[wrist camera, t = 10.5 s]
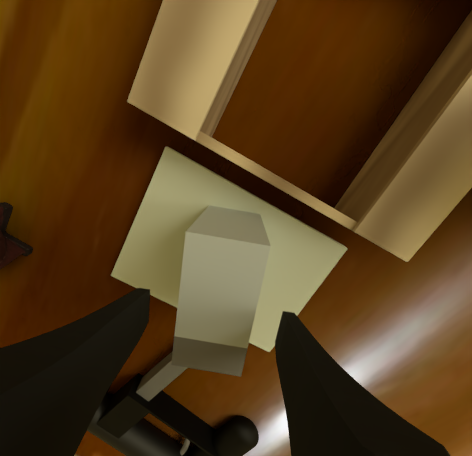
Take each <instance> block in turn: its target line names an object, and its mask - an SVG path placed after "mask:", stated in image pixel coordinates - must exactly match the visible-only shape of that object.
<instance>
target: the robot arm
mask: <svg viewBox="0 0 472 456" xmlns="http://www.w3.org/2000/svg"><path fill="white" fill-rule="evenodd" d="M149 302H150V289H144V288H137V289H135V290H134V291H132V292H130V293H128V294H126V295H125V296H123V297H121V298H119V299H118V300H116V301H114V302H112V303H110V304H109V305H107V306H105V307H103V308H101V309H99V310H97V311H95V312H93V313H91V314H89V315H87V316H85V317H83V318H81V319H79V320H77V321H75V322H72V323H70V324H68V325H65V326H63V327H61V328H58V329H56V330H53V331H50V332H48V333H45V334H42V335H39V336H36V337H34V338H31V339H28V340H25V341H22V342H19V343H16V344H13V345H10V346H6V347H3V348H0V456H74V455H75V453H76V451H77V448H78V446H79V444H80V442H81V440H82V438H83V436H84V434H85V433H86V431H87V429H88V427H89V425H90V423H91V421H92V419H93V417H94V415H95V413H96V411H97V409H98V407H99V405H100V404H101V402H102V400H103V398H104V396H105V394H106V392H107V391H108V389H109V387H110V385H111V384H112V382H113V381H114V379H115V377H116V376H117V374H118V373H119V371H120V370H121V368H122V367H123V365H124V363H125V362H126V360H127V359H128V357H129V356H130V354H131V353H132V351H133V349H134V348H135V346H136V345H137V343H138V341H139V340H140V338H141V336H142V334H143V332H144V330H145V328H146V326H147V323H148V321H149ZM275 349H276V362H277V367H278V372H279V378H280V383H281V388H282V393H283V398H284V403H285V408H286V414H287V420H288V429H289V438H290V447H291V456H450V454H449V453H448V451H447V450H446V449H445V447H444V446H443V445H441V444H440V443H438V442H437V441H435V440H434V439H432V438H431V437H429V436H428V435H426V434H425V433H423V432H422V431H420V430H419V429H417V428H416V427H415V426H413V425H412V424H410V423H409V422H407V421H406V420H404V419H403V418H402V417H400V416H399V415H398V414H396V413H395V412H394V411H392V410H391V409H389V408H388V407H387V406H386V405H384V404H383V403H382V402H380V401H379V400H378V399H377V398H375V397H374V396H373V395H372V394H371V393H369V392H368V391H367V390H366V389H365V388H363V387H362V386H361V385H360V384H359V383H358V382H356V381H355V380H354V379H353V378H352V377H351V376H350V375H349V374H348V373H347V372H346V371H345V370H344V369H343V368H342V367H340V366H339V365H338V364H337V362H336V361H335V360H334V359H333V358H332V357H331V356H330V355H329V354H328V353H327V352H326V351H325V350H324V349H323V347H322V346H321V345H320V344H319V343H318V342H317V340H316V339H315V338H314V337H313V336H312V334H311V333H310V332H309V331H308V329H307V328H306V327H305V326H304V324H303V323H302V322H301V321H300V319H299V318H298V317H297V316H296V314H295V313H293V312H286V311H283V312H282V316H281V320H280V324H279V328H278V332H277V336H276V340H275Z"/></svg>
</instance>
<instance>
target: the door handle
mask: <svg viewBox="0 0 472 456" xmlns="http://www.w3.org/2000/svg"><path fill="white" fill-rule="evenodd" d="M172 354H173V351H172V352H171V353H170V354H169V355H168V356H166V357H165V358H164V359H163V360H162V361H161V362H159V363H158V364H157V365H156V366H155V367H153V368H152V369H151V370H150V371H149V372H148V373H147V374H146V375H145V376H142V375H140V374H139V373H138V374H137V375H136V376H135V377H134V378H132V379H131V380H130V381H129V382H128V383H127V384H126V385H124V386H123V387H122V388H121V389H120V390H119V391H117V392H116V393H115V394H114V395H113V396H112V397H111V396H109V395H108V394H105V396H104V398H103V400H102V402H101V404H100V405H99V407H98V409H97V411H96V413H95V415H94V417H93V419H92V421H91V423H90V425H89V427H88V429H87V431H89V432H90V433H92V434H93V435H95V436H97V437H98V438H100V439H101V440H103V441H104V442H106V443H107V444H109V445H111V446H112V447H114V448H115V449H117V450H118V451H120V452H121V453H123V454H125V455H126V456H243V455H244V454H245V453H247V452H248V451H250V450H251V449H252V448H254V447H255V446H256V445H257V443H258V439H259V435H258V431H257V428H256V426H255V425H254V423H253V422H252V421H251V420H250V419H248V418H246V417H243V416H236V417H234V418H233V419H232V420H231V421H229V422H228V423H227V424H225V425H224V426H223V427H221V428H220V429H219V430H218V431H216V430H215V429H213V428H212V427H211V426H209V425H208V424H207V423H205V422H204V421H203V420H201V419H200V418H199V417H197V416H196V415H194V414H193V413H192V412H190V411H189V410H188V409H186V408H185V407H184V406H182V405H181V404H180V403H178V402H177V401H175V400H174V399H173V398H171V397H170V396H169V395H167V394H166V393H165V392H163V391H162V390H163V389H164V388H165V387H166V386H167V385H168V384H169V383H171V382H172V381H173V380H174V379H175V378H176V377H177V376H179V375H180V374H181V373H182V372H183V371H184V370H186V369H187V367H181V366H175V365H171V363H172ZM148 413H150V414H152V415H153V416H155V417H156V418H158V419H159V420H160V421H162V422H163V423H165V424H166V425H168V426H169V427H170V428H172V429H173V430H175V431H176V432H178V433H179V434H180V435H182V436H183V437H185V441H184V444H183V446H182V445H180V444H179V443H178V442H176V441H175V440H173V439H172V438H170V437H169V436H167V435H166V434H164V433H163V432H162V431H160V430H159V429H157V428H156V427H154V426H153V425H151V424H150V423H149V422H147V421H146V420H144V419H143V417H145V416H146V415H147V414H148ZM190 442H192V443H193V444H195V445H196V446H197V447H196V448H194V449H193V450H192V451H189V450H188V447H189V444H190Z"/></svg>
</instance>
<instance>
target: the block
mask: <svg viewBox="0 0 472 456" xmlns="http://www.w3.org/2000/svg"><path fill="white" fill-rule="evenodd" d="M270 247H271V245H270V242H269V239H268V236H267V233H266V230H265V227H264V224H263V221H262V218H261V215H260V214H256V213H251V212H245V211H239V210H233V209H228V208H222V207H216V206H210V205H209V206H208V207H207V209H206V210H205V211H204V212H203V213H202V214H201V215H200V216H199V217H198V219H197V220H196V221H195V222H194V223H193V224H192V225H191V226H190V227H189V229H188V230H187V231H186V234H185V244H184V253H183V262H182V271H181V280H180V289H179V299H178V308H177V317H176V326H175V335H174V344H173V354H172V363H171V365H175V366H181V367H187V368H193V369H199V370H205V371H211V372H217V373H223V374H229V375H235V376H241V374H242V370H243V365H244V361H245V357H246V352H247V348H248V343H249V339H250V335H251V330H252V326H253V322H254V317H255V313H256V308H257V304H258V300H259V295H260V291H261V287H262V282H263V278H264V273H265V269H266V265H267V260H268V256H269V251H270Z"/></svg>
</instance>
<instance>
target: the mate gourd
mask: <svg viewBox="0 0 472 456" xmlns="http://www.w3.org/2000/svg"><path fill="white" fill-rule="evenodd" d="M12 209H13V207H12V205H10V204H8V203H6V202H4V203H0V269H1V268H3V267H4V266H6V265H7V264H9V263H10V262H12V261H13V260H14V259H15V258H17V257H18V256H20V255H21V254H22V255H24V256H28V255H29V254H31V253H32V251H33V248H32V247H31V246H29V245H27V244H26V243H24V242H22V241H20V240H18V239H17V238H15V237H13V236H11V235H10V234H8V233H7V232H6V227H7V224H8V221H9V218H10V215H11V212H12Z"/></svg>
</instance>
